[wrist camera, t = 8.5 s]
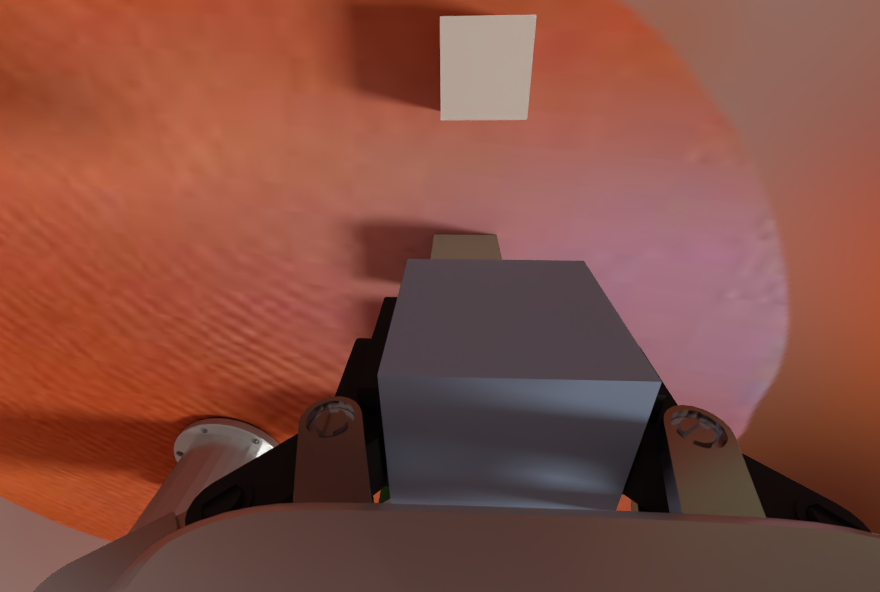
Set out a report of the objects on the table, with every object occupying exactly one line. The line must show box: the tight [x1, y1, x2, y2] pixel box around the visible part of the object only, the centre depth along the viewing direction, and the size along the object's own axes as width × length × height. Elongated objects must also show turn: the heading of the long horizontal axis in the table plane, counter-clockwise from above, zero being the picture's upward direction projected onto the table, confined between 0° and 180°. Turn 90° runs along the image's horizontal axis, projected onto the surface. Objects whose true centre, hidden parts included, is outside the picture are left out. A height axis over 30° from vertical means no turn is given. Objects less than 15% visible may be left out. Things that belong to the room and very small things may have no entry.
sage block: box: [431, 234, 502, 260], centre depth 31 cm, size 5×5×5 cm
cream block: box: [440, 15, 537, 120], centre depth 24 cm, size 5×5×5 cm
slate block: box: [377, 259, 662, 511], centre depth 11 cm, size 5×5×5 cm
